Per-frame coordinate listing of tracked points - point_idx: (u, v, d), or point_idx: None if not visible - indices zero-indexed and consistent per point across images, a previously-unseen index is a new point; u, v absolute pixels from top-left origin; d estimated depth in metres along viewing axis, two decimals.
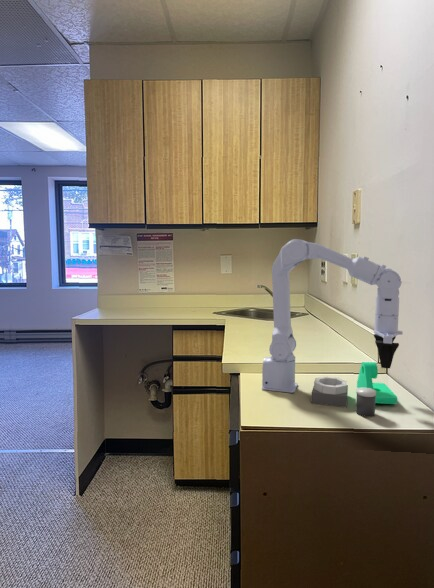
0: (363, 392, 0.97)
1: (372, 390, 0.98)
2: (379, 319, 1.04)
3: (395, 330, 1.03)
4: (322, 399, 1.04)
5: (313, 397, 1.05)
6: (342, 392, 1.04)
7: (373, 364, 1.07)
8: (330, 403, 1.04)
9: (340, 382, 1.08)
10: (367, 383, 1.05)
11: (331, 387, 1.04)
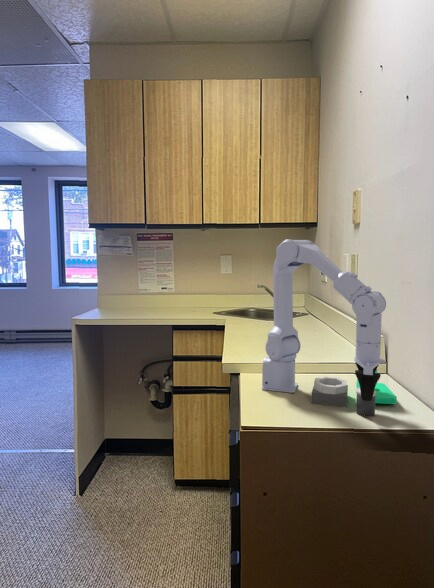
0: None
1: None
2: (359, 347, 0.95)
3: (377, 359, 0.95)
4: (322, 399, 1.04)
5: (313, 397, 1.05)
6: (342, 392, 1.04)
7: None
8: (330, 403, 1.04)
9: (340, 382, 1.08)
10: None
11: (331, 387, 1.04)
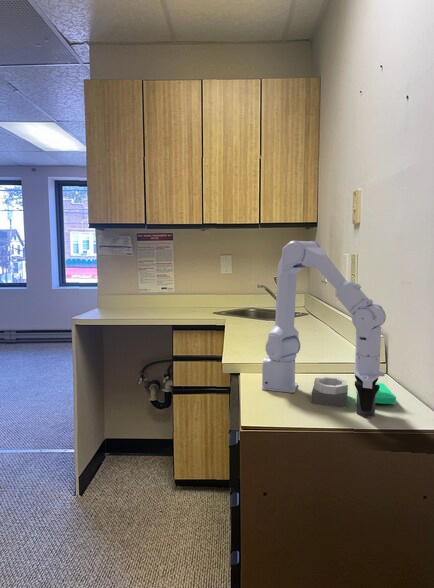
0: None
1: None
2: (359, 359, 0.96)
3: (376, 372, 0.95)
4: (322, 399, 1.04)
5: (313, 397, 1.05)
6: (342, 392, 1.04)
7: None
8: (330, 403, 1.04)
9: (340, 382, 1.08)
10: None
11: (331, 387, 1.04)
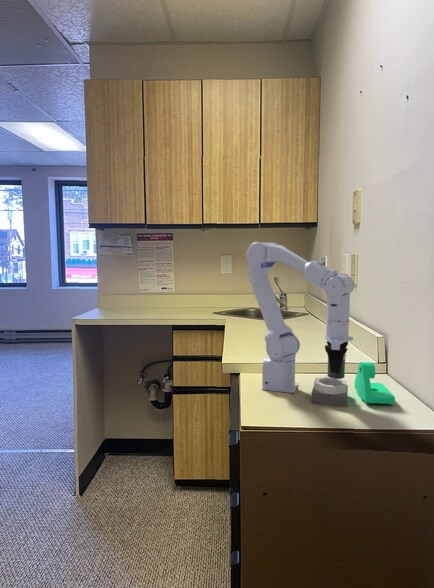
0: None
1: None
2: (329, 325, 1.03)
3: (345, 336, 1.02)
4: (322, 399, 1.04)
5: (313, 397, 1.05)
6: (342, 392, 1.04)
7: (371, 364, 1.07)
8: (330, 403, 1.04)
9: (340, 382, 1.08)
10: (365, 383, 1.05)
11: (331, 387, 1.04)
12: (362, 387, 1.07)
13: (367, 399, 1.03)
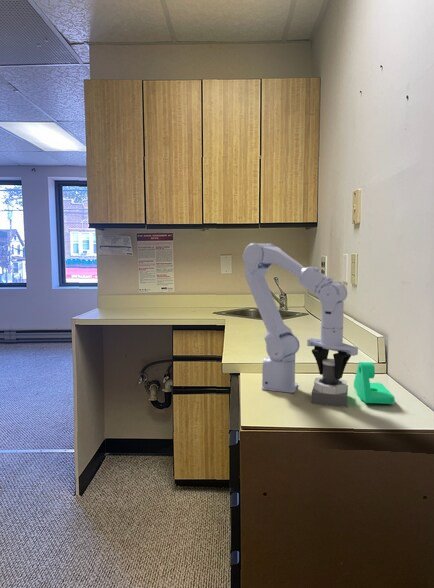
0: (334, 362, 1.05)
1: (331, 359, 1.09)
2: (334, 333, 1.03)
3: None
4: (322, 399, 1.04)
5: (313, 397, 1.05)
6: (342, 392, 1.04)
7: (370, 364, 1.07)
8: (330, 403, 1.04)
9: (340, 382, 1.08)
10: (364, 383, 1.05)
11: (331, 387, 1.04)
12: (361, 387, 1.07)
13: (367, 399, 1.03)
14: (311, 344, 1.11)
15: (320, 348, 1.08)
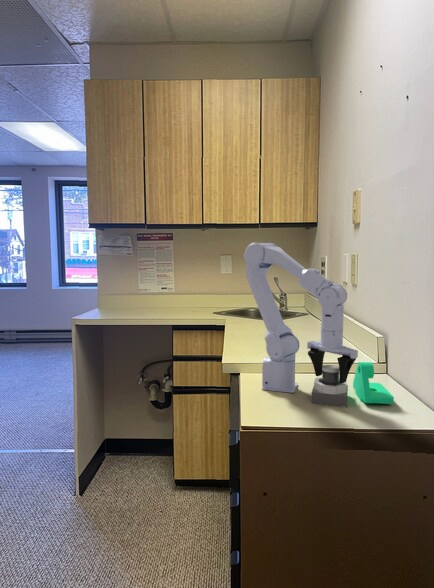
0: (334, 369, 1.06)
1: (331, 365, 1.09)
2: (334, 336, 1.03)
3: None
4: (322, 399, 1.04)
5: (313, 397, 1.05)
6: (342, 392, 1.04)
7: (369, 364, 1.07)
8: (330, 403, 1.04)
9: None
10: (364, 383, 1.05)
11: (331, 387, 1.04)
12: (361, 387, 1.07)
13: (366, 399, 1.03)
14: (311, 347, 1.11)
15: (316, 350, 1.09)
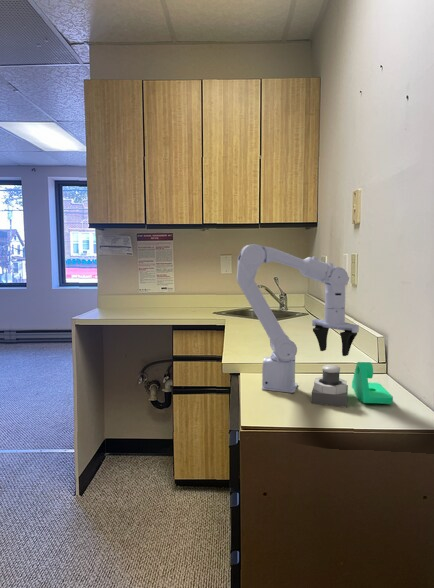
0: (334, 369, 1.06)
1: (331, 365, 1.09)
2: (337, 312, 1.13)
3: None
4: (322, 399, 1.04)
5: (313, 397, 1.05)
6: (342, 392, 1.04)
7: (368, 364, 1.07)
8: (330, 403, 1.04)
9: (340, 382, 1.08)
10: (363, 383, 1.05)
11: (331, 387, 1.04)
12: (360, 387, 1.07)
13: (365, 399, 1.03)
14: (316, 324, 1.20)
15: (320, 327, 1.19)
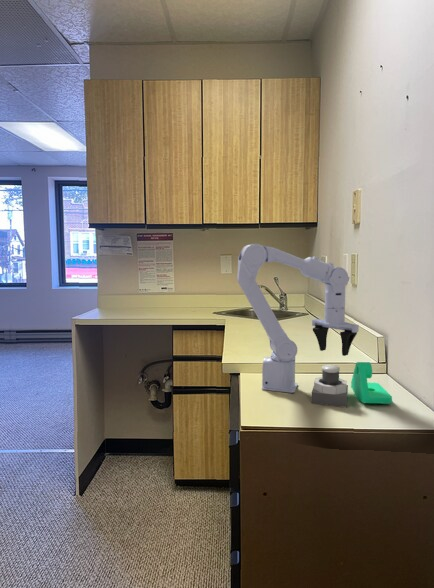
0: (334, 369, 1.06)
1: (330, 365, 1.09)
2: (337, 312, 1.13)
3: None
4: (322, 399, 1.04)
5: (313, 397, 1.05)
6: (342, 392, 1.04)
7: (367, 364, 1.07)
8: (330, 403, 1.04)
9: (340, 382, 1.08)
10: (362, 383, 1.05)
11: (331, 387, 1.04)
12: (359, 387, 1.07)
13: (364, 399, 1.03)
14: (315, 324, 1.21)
15: (320, 326, 1.19)
